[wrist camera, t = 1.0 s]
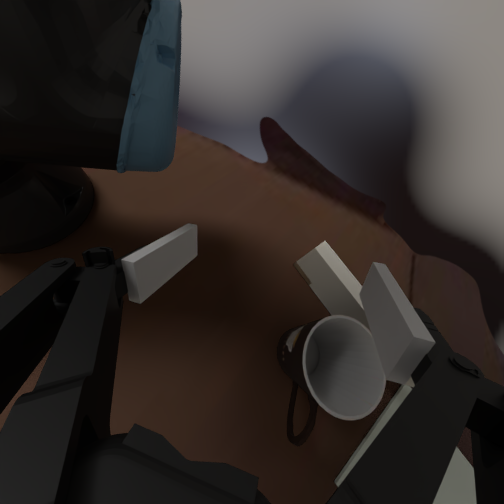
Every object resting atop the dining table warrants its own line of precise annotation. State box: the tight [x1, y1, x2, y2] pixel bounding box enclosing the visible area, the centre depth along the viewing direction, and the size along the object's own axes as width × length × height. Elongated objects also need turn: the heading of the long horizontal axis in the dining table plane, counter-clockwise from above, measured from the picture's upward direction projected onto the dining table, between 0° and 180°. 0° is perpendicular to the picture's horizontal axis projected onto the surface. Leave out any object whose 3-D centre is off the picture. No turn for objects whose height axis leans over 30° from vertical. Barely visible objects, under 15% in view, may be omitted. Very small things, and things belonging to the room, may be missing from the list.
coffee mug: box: [277, 315, 386, 446], centre depth 23 cm, size 12×9×10 cm
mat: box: [334, 384, 477, 504], centre depth 26 cm, size 16×16×1 cm
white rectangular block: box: [293, 241, 415, 387], centre depth 29 cm, size 20×4×7 cm, turn 36°
